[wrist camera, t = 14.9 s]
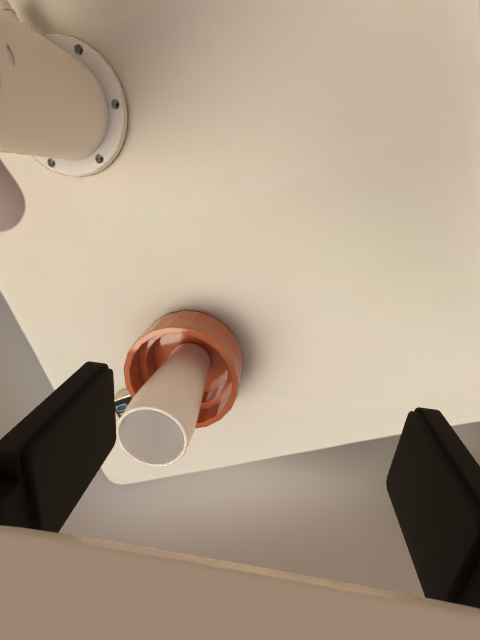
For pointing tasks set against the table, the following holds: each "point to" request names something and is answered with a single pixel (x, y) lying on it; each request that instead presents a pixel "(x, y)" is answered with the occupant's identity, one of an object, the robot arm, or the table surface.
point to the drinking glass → (166, 408)
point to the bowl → (197, 331)
